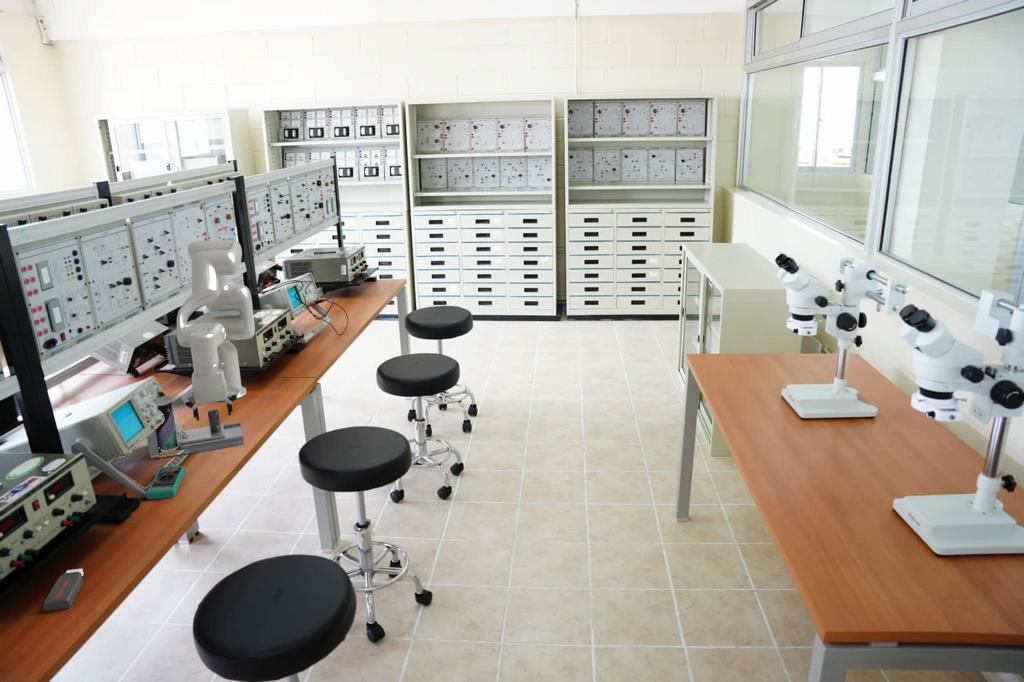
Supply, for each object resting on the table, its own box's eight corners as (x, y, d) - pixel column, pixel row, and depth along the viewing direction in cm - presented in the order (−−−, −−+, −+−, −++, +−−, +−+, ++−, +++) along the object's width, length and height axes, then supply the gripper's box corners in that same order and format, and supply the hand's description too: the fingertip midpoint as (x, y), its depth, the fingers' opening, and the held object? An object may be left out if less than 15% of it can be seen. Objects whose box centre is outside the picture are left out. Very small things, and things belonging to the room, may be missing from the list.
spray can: (158, 453, 217) (148, 396, 211) (161, 445, 222) (152, 389, 216) (177, 451, 219) (167, 394, 212) (180, 443, 224) (171, 387, 217)
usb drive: (44, 613, 151) (41, 603, 150) (63, 578, 162) (61, 568, 161) (70, 609, 152) (68, 599, 151) (88, 575, 163) (86, 565, 162)
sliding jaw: (178, 437, 225) (174, 412, 222) (223, 429, 230) (220, 405, 227) (178, 448, 218) (173, 422, 215) (225, 440, 223) (221, 415, 220)
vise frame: (151, 443, 224) (147, 421, 221) (241, 428, 235) (238, 407, 232) (150, 460, 213) (146, 437, 211) (244, 444, 224) (241, 422, 222)
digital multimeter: (186, 472, 208) (185, 463, 207) (174, 498, 194) (173, 489, 193) (160, 474, 206) (158, 466, 206) (146, 501, 193) (145, 492, 192)
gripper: (234, 360, 225) (241, 407, 231) (176, 368, 218) (184, 416, 224) (236, 369, 218) (242, 416, 224) (177, 377, 211) (185, 426, 218)
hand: (213, 416), depth 224 cm, fingers open, 9 cm apart
